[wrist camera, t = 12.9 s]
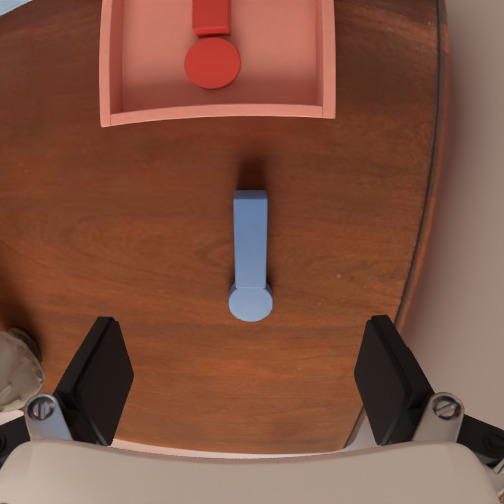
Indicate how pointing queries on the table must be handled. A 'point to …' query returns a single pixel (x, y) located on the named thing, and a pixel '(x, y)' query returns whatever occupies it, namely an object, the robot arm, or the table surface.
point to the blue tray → (10, 5)
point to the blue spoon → (250, 257)
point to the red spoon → (212, 46)
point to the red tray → (242, 37)
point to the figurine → (19, 369)
